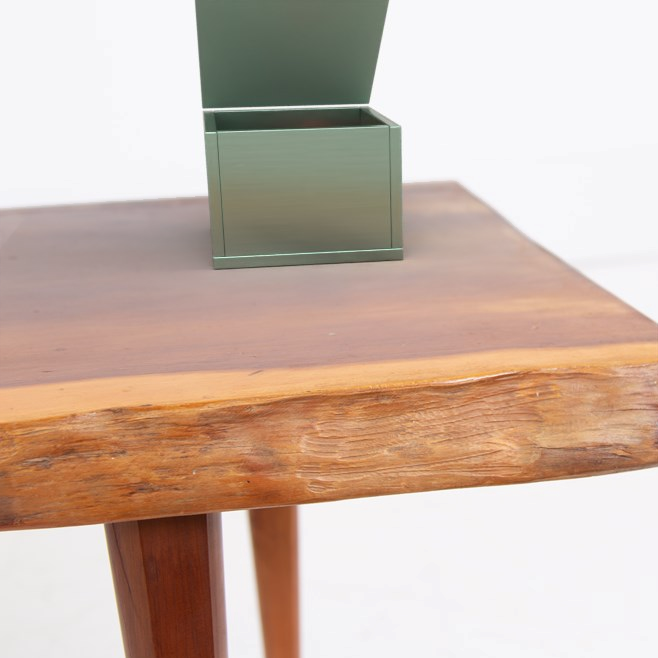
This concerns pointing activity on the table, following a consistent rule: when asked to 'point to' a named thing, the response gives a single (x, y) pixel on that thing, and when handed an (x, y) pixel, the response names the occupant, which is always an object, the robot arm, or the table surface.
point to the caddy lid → (288, 51)
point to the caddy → (303, 186)
